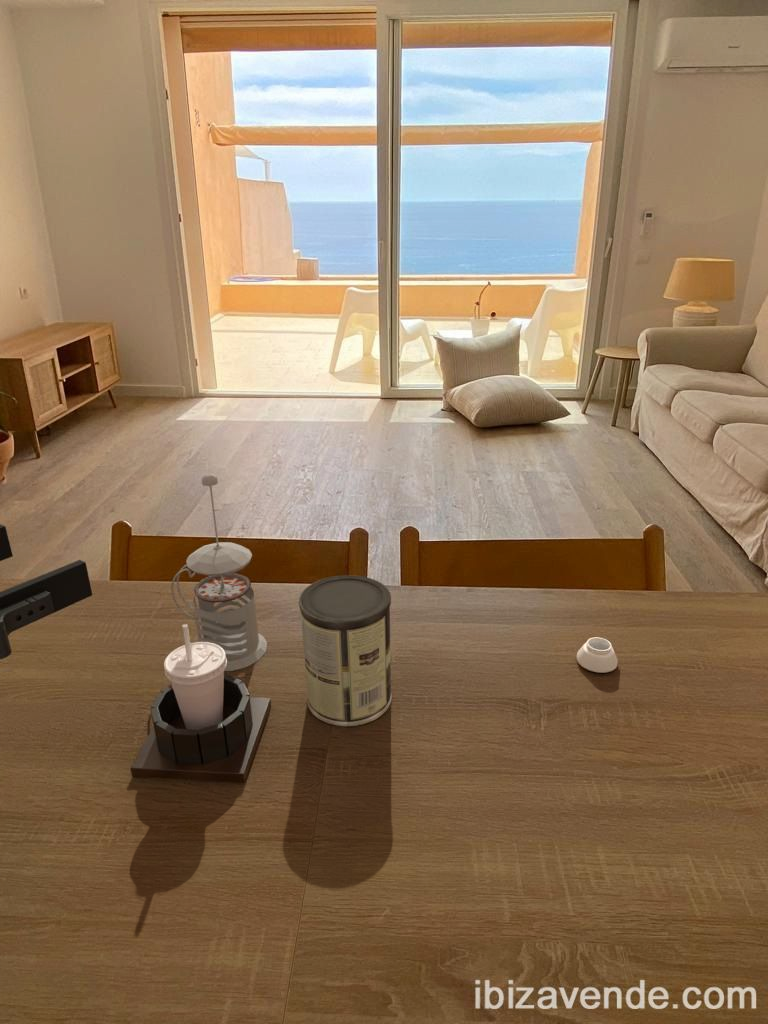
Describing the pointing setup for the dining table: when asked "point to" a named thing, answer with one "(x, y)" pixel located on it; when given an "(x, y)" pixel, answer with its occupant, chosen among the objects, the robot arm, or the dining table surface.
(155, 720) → the cup holder
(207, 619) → the french press
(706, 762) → the dining table surface
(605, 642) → the upturned white bowl
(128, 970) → the dining table surface
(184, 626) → the smoothie
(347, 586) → the coffee can
